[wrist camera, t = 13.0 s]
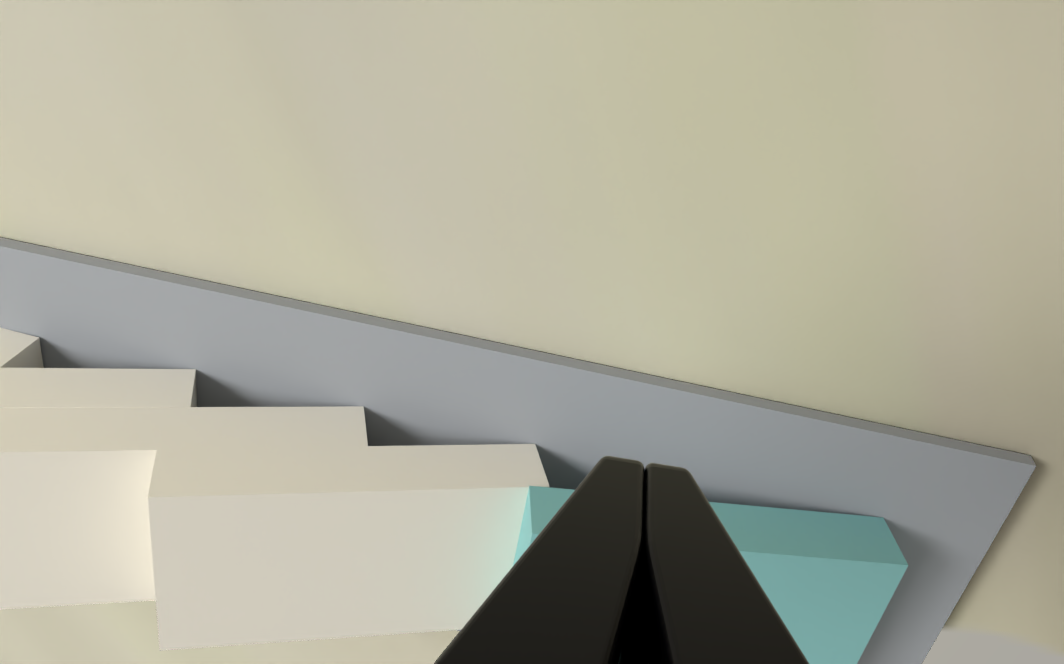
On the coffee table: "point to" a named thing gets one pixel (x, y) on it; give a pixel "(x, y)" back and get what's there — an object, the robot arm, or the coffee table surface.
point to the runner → (532, 411)
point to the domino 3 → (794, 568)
